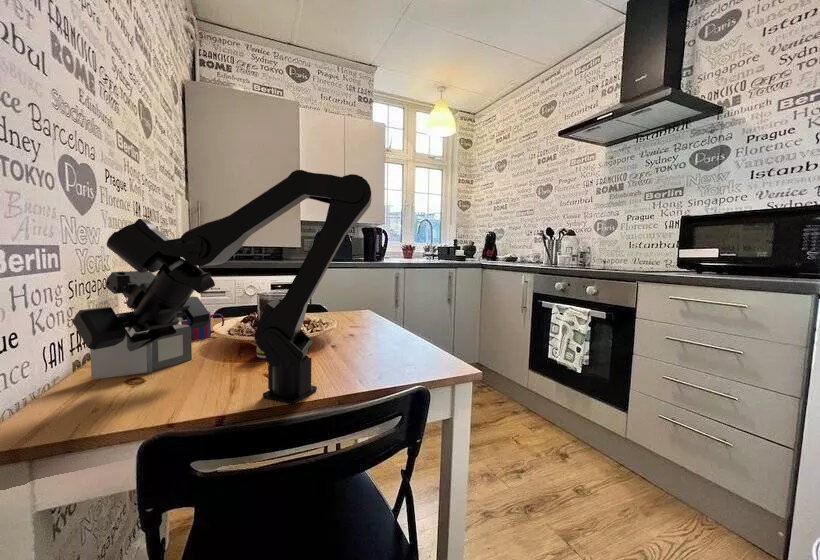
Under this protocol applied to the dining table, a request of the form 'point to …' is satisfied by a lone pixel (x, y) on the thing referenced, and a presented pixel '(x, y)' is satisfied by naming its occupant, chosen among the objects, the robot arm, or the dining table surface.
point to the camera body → (172, 348)
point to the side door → (120, 360)
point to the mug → (202, 328)
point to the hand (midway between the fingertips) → (130, 348)
